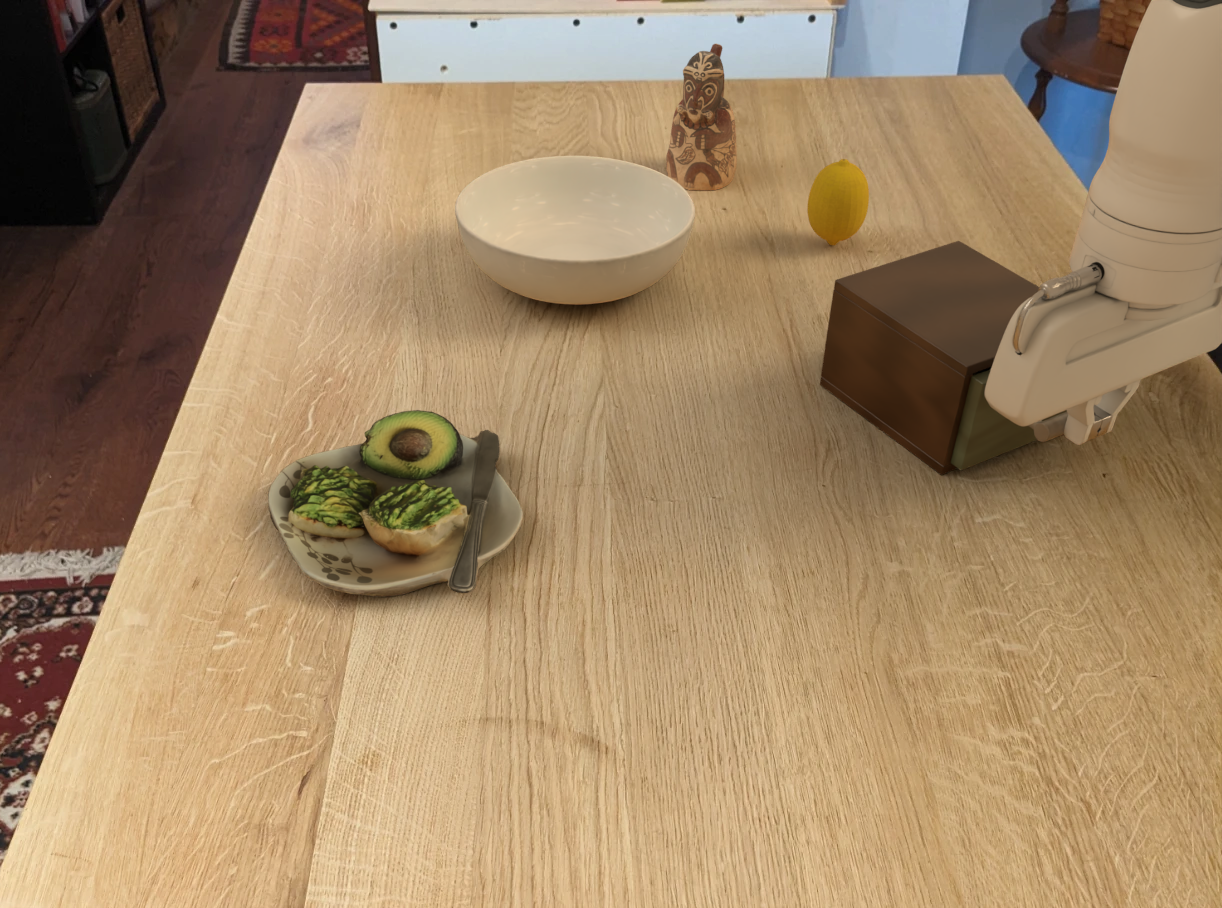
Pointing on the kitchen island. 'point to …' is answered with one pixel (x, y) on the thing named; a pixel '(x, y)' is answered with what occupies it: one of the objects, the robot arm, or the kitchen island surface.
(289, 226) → the kitchen island surface
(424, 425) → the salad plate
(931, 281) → the cabinet
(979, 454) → the drawer
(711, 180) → the figurine
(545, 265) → the serving bowl
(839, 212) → the lemon
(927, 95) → the kitchen island surface
